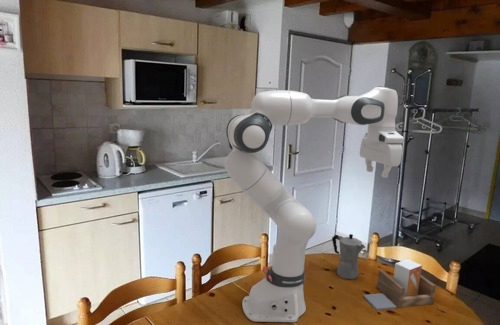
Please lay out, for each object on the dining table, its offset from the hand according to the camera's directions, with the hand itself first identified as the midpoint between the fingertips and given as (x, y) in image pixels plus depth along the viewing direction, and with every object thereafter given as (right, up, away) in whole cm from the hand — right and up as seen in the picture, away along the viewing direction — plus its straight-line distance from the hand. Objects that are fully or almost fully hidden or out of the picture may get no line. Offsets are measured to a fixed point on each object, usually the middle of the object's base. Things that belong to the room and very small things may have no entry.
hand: (376, 174), depth 127 cm
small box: (+15, -47, +13) cm, 51 cm away
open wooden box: (+15, -47, +13) cm, 51 cm away
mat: (+3, -48, +7) cm, 48 cm away
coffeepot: (-4, -44, +28) cm, 52 cm away
